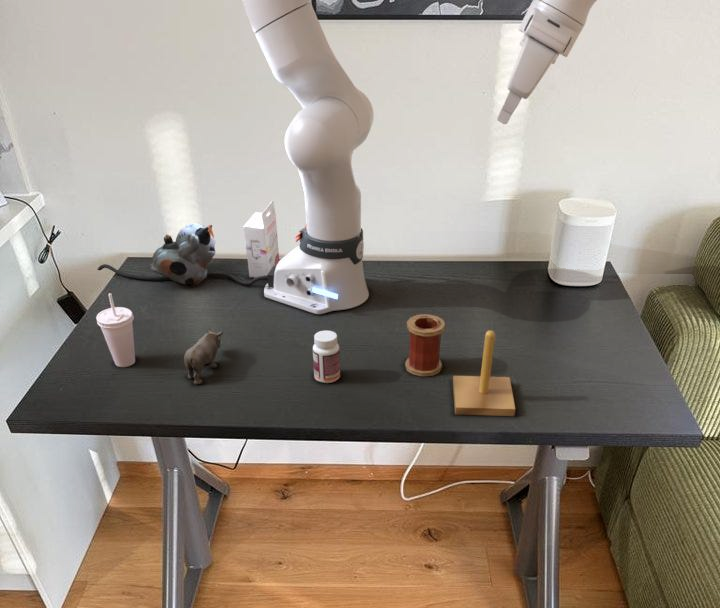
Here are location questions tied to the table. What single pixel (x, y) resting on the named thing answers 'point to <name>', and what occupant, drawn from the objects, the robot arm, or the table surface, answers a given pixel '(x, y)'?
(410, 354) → the spool
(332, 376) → the pill bottle
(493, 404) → the peg stand
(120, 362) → the smoothie
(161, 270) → the lucky cat figurine
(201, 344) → the rhino figurine
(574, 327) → the table surface
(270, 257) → the ink cartridge box
